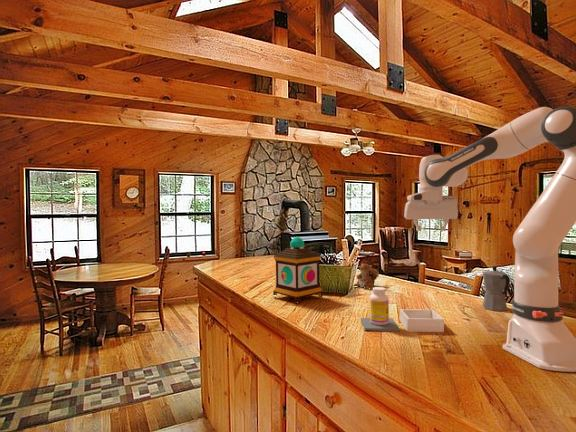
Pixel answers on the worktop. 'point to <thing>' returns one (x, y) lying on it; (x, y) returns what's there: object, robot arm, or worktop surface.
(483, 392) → the worktop surface
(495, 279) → the coffeepot
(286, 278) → the decorative lantern
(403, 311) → the bin
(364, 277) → the stuffed squirrel
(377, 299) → the supplement bottle
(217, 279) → the worktop surface
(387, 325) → the mat
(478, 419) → the worktop surface
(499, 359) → the worktop surface
